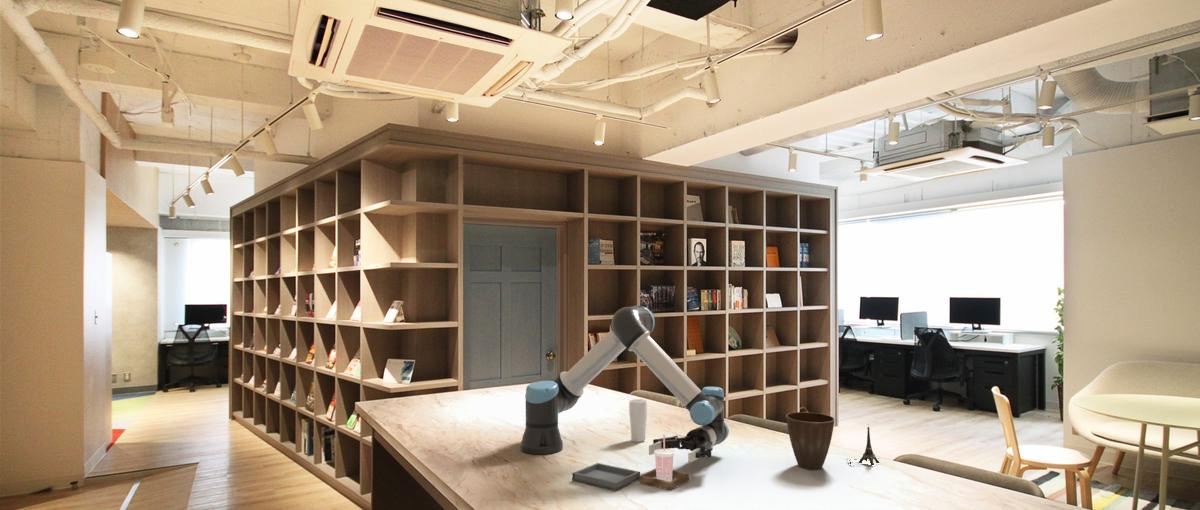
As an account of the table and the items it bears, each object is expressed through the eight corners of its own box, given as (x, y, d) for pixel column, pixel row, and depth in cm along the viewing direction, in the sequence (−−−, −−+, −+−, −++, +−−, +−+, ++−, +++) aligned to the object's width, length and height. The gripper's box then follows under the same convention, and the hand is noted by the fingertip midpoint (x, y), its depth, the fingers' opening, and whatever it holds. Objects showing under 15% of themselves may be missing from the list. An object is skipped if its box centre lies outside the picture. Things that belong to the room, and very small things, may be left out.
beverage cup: (676, 479, 188) (676, 433, 189) (672, 485, 182) (671, 437, 183) (656, 477, 190) (656, 431, 191) (651, 483, 184) (651, 436, 185)
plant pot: (836, 463, 205) (836, 414, 206) (833, 476, 192) (832, 423, 192) (790, 457, 211) (789, 410, 212) (783, 470, 198) (782, 419, 198)
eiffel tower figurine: (886, 460, 210) (885, 420, 211) (898, 469, 200) (897, 427, 201) (841, 459, 211) (840, 420, 212) (851, 468, 201) (850, 427, 202)
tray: (572, 480, 187) (572, 473, 187) (597, 470, 198) (597, 462, 198) (616, 491, 178) (616, 483, 178) (640, 479, 188) (640, 471, 189)
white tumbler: (646, 443, 230) (645, 402, 231) (628, 442, 232) (627, 402, 232) (648, 438, 237) (648, 399, 238) (630, 438, 238) (630, 398, 239)
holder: (639, 483, 185) (639, 476, 185) (657, 473, 194) (657, 467, 194) (671, 490, 179) (671, 483, 179) (689, 480, 188) (689, 473, 188)
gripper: (736, 456, 198) (706, 473, 181) (667, 445, 212) (634, 459, 195) (735, 433, 198) (706, 447, 181) (667, 422, 213) (634, 435, 195)
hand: (669, 453), depth 188 cm, fingers open, 13 cm apart
